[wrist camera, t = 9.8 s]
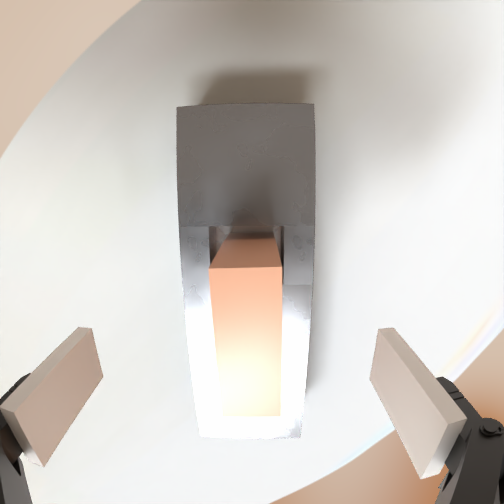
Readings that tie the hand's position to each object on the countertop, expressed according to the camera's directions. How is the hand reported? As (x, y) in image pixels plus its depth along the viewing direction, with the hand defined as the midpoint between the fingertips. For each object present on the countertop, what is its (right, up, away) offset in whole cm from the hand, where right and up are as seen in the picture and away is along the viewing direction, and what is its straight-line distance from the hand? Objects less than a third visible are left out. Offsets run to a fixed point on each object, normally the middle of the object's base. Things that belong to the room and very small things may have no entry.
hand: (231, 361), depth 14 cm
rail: (+1, +2, +10) cm, 11 cm away
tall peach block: (+1, +2, +9) cm, 10 cm away
